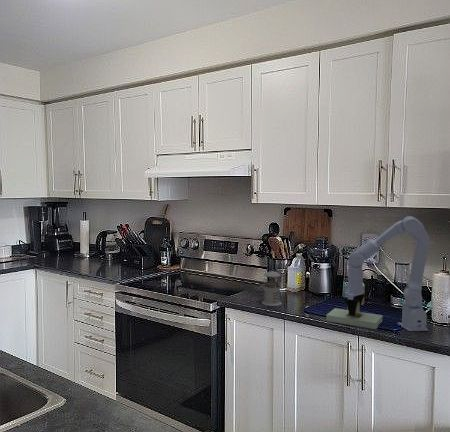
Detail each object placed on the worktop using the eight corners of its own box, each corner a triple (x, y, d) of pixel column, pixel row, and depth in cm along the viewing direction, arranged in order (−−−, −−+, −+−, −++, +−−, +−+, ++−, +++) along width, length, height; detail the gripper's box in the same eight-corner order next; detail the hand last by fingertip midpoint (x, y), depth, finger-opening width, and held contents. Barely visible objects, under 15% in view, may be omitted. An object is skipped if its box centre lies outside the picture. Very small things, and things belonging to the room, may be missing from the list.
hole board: (382, 321, 178) (382, 315, 178) (375, 329, 168) (376, 323, 168) (334, 313, 189) (335, 308, 189) (326, 320, 178) (326, 314, 178)
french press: (258, 304, 204) (258, 251, 202) (267, 298, 214) (268, 248, 212) (277, 306, 199) (278, 253, 197) (286, 301, 209) (287, 250, 208)
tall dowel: (360, 322, 177) (361, 303, 176) (351, 322, 176) (352, 303, 176) (356, 319, 181) (357, 300, 180) (347, 319, 180) (348, 301, 180)
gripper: (350, 276, 186) (349, 307, 186) (340, 282, 173) (339, 315, 174) (367, 278, 182) (366, 310, 183) (358, 284, 170) (357, 318, 170)
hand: (354, 313), depth 178 cm, fingers open, 7 cm apart
